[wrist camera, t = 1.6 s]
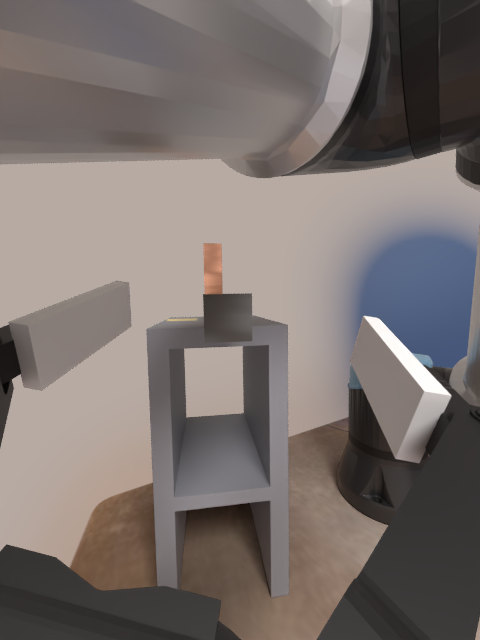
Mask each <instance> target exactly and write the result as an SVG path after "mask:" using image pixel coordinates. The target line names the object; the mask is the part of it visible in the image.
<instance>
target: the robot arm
mask: <svg viewBox="0 0 480 640" xmlns="http://www.w3.org/2000/svg"><path fill="white" fill-rule="evenodd" d="M453 149H456V173H457V177H458V178H459V179H460V181H461V182H463V183H464V184H465V185H467V186H469V187H471V188H474V189H475V190H478V191H480V0H0V164H30V163H68V162H106V161H107V162H109V161H148V160H184V159H185V160H187V159H221V160H222V161H223V162H225V163H226V164H227V165H228V166H229V167H230V168H232V169H234V170H235V171H237V172H239V173H241V174H244V175H246V176H251V177H256V178H272V177H278V176H291V175H306V174H320V173H335V172H350V171H359V170H367V169H374V168H380V167H387V166H391V165H395V164H399V163H404V162H408V161H411V160H414V159H419V158H422V157H426V156H430V155H433V154H437V153H440V152H445V151H449V150H453ZM130 327H131V310H130V293H129V283H128V282H121V281H115V282H112V283H110V284H107V285H104V286H102V287H99V288H97V289H94V290H92V291H89V292H86V293H83V294H81V295H79V296H76V297H73V298H70V299H68V300H65V301H62V302H60V303H57V304H55V305H52V306H49V307H47V308H44V309H42V310H39V311H36V312H34V313H31V314H28V315H26V316H23V317H20V318H18V319H15V320H13V321H10V322H9V325H7V326H4V327H2V328H0V446H1V442H2V438H3V433H4V429H5V424H6V420H7V415H8V411H9V407H10V402H11V398H12V394H13V389H14V388H13V383H12V379H13V378H15V377H16V376H18V375H20V374H21V377H22V381H23V385H24V387H26V388H30V389H36V390H41V391H42V390H43V389H45V388H46V387H48V386H49V385H50V384H52V383H53V382H54V381H56V380H57V379H59V378H60V377H61V376H63V375H64V374H66V373H67V372H68V371H70V370H71V369H73V368H74V367H75V366H77V365H78V364H79V363H81V362H82V361H84V360H85V359H87V358H88V357H89V356H91V355H92V354H93V353H95V352H96V351H97V350H99V349H100V348H102V347H103V346H105V345H106V344H107V343H109V342H110V341H112V340H113V339H114V338H116V337H117V336H119V335H120V334H121V333H123V332H124V331H126V330H127V329H128V328H130ZM350 362H351V367H350V379H349V383H348V388H349V439H348V443H347V445H346V448H345V450H344V453H343V456H342V459H341V462H340V463H339V466H338V480H337V482H338V487H339V490H340V492H341V493H342V495H343V496H344V497H345V499H346V500H347V501H348V502H349V503H350V504H351V505H352V506H354V507H355V508H356V509H358V510H359V511H360V512H362V513H364V514H365V515H367V516H369V517H371V518H373V519H375V520H377V521H380V522H383V523H385V524H389V526H388V527H387V529H386V531H385V532H384V534H383V536H382V537H381V539H380V541H379V542H378V544H377V546H376V547H375V549H374V551H373V552H372V554H371V556H370V557H369V559H368V561H367V562H366V564H365V566H364V568H363V569H362V571H361V572H360V574H359V576H358V577H357V578H356V579H354V580H353V582H352V583H351V584H350V586H349V588H348V589H347V591H346V592H345V594H344V595H343V597H342V599H341V600H340V602H339V604H338V605H337V607H336V609H335V610H334V612H333V614H332V615H331V617H330V619H329V620H328V622H327V624H326V625H325V627H324V628H323V630H322V632H321V633H320V635H319V637H318V638H317V640H475V637H476V632H477V627H478V622H479V617H480V227H479V237H478V249H477V259H476V269H475V280H474V290H473V301H472V311H471V322H470V333H469V344H468V354H467V356H466V357H464V358H463V359H461V360H460V361H459V362H458V363H457V364H456V365H455V366H454V368H453V369H452V368H442V367H434V366H433V362H432V360H431V358H430V357H428V356H426V355H422V354H413V353H411V352H410V351H409V350H408V349H407V348H406V347H405V346H404V345H403V344H402V343H401V342H400V341H399V339H397V337H396V336H395V335H394V334H393V333H392V332H391V331H390V330H389V329H388V328H387V327H386V326H385V325H384V324H383V323H382V321H381V320H380V319H379V318H374V317H367V316H363V319H362V322H361V326H360V329H359V332H358V336H357V339H356V343H355V346H354V350H353V353H352V356H351V360H350ZM428 455H430V457H428ZM220 605H221V600H218V599H214V598H210V597H206V596H202V595H198V594H195V593H191V592H187V591H183V590H179V589H175V588H171V587H168V586H157V587H145V588H134V589H122V590H110V591H101V590H98V589H96V588H94V587H93V586H92V585H90V584H89V583H88V582H86V581H85V580H84V579H83V578H81V577H80V576H79V575H78V574H76V573H75V572H74V571H72V570H71V569H70V568H69V567H67V566H66V565H65V564H63V563H62V562H61V561H60V560H58V559H57V558H56V557H52V556H49V555H45V554H41V553H37V552H33V551H29V550H26V549H22V548H18V547H14V546H10V545H6V546H5V547H4V548H3V549H2V550H1V551H0V640H241V639H240V638H239V637H238V636H236V635H235V634H234V633H233V632H232V631H231V630H230V629H229V628H227V627H226V626H225V625H223V624H222V623H221V622H219V621H218V619H219V612H220Z"/></svg>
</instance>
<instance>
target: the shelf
mask: <svg viewBox="0 0 480 640" xmlns="http://www.w3.org/2000/svg"><path fill="white" fill-rule="evenodd" d="M229 346H230V347H231V346H243V384H244V385H243V387H244V413H243V414H230V415H217V416H202V417H189V418H186V395H185V367H184V365H185V364H184V348H204V347H205V348H206V347H229ZM147 352H148V375H149V399H150V423H151V445H152V469H153V494H154V518H155V542H156V565H157V586H168V587H171V588H175V589H179V590H180V587H181V574H182V562H183V550H184V538H185V526H186V513H187V510H193V509H202V508H210V507H219V506H227V505H236V504H244V503H250V506H251V511H252V515H253V519H254V524H255V528H256V533H257V537H258V541H259V546H260V550H261V555H262V559H263V563H264V568H265V572H266V577H267V581H268V585H269V590H270V594H271V598H273V597H279V596H285V595H289V501H288V325H286V324H282V323H279V322H275V321H271V320H268V319H264V318H261V317H257V316H252V341H244V342H218V343H205V338H204V317H179V318H178V317H177V318H176V317H174V318H169V319H167V320H165V321H163V322H161V323H159V324H156V325H154V326H152V327H150V328H148V329H147Z"/></svg>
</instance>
